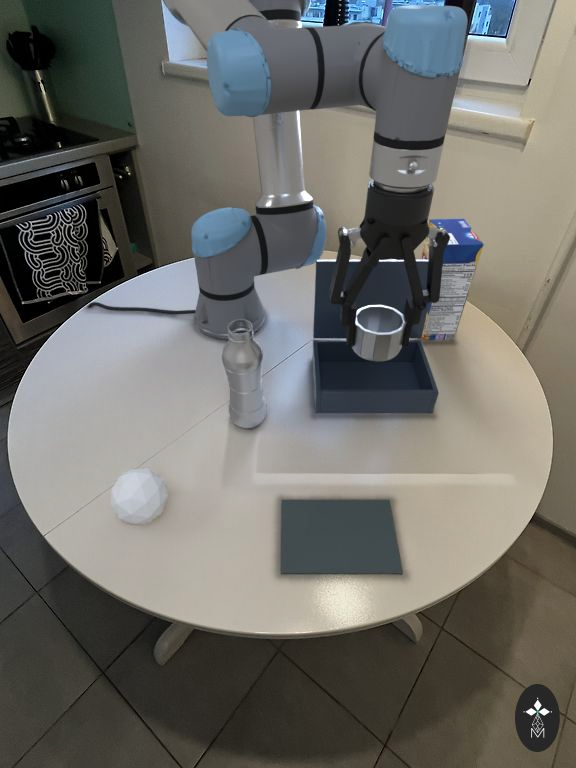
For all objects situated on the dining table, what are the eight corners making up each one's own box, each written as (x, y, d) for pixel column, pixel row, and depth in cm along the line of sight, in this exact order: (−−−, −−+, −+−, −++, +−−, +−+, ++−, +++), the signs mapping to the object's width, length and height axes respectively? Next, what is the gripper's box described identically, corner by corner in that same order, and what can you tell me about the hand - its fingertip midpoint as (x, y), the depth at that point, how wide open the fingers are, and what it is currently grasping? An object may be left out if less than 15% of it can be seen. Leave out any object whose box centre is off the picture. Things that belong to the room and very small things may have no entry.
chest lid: (438, 261, 76) (436, 259, 77) (316, 261, 76) (315, 259, 77) (421, 338, 86) (420, 336, 86) (313, 338, 86) (313, 336, 87)
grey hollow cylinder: (353, 362, 65) (357, 334, 62) (348, 332, 71) (350, 305, 67) (404, 362, 65) (411, 334, 62) (395, 331, 71) (400, 304, 67)
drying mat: (280, 574, 59) (280, 572, 59) (281, 501, 67) (281, 499, 67) (402, 574, 59) (403, 572, 59) (389, 501, 67) (389, 499, 67)
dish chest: (431, 416, 80) (439, 392, 76) (315, 416, 80) (316, 392, 76) (414, 362, 90) (420, 339, 86) (311, 362, 90) (313, 339, 87)
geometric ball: (135, 519, 68) (99, 482, 65) (178, 486, 69) (145, 448, 66) (133, 547, 61) (93, 506, 58) (181, 510, 62) (144, 468, 59)
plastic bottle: (272, 410, 81) (269, 317, 67) (258, 437, 76) (251, 344, 63) (239, 401, 82) (229, 309, 69) (223, 428, 78) (209, 335, 64)
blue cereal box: (420, 343, 95) (445, 245, 80) (408, 313, 103) (429, 219, 88) (453, 342, 95) (483, 244, 80) (438, 313, 103) (464, 218, 88)
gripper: (315, 194, 49) (309, 357, 64) (501, 192, 49) (451, 356, 65) (311, 171, 54) (306, 327, 70) (479, 169, 55) (437, 325, 70)
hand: (376, 340), depth 67 cm, fingers closed on grey hollow cylinder, 7 cm apart
